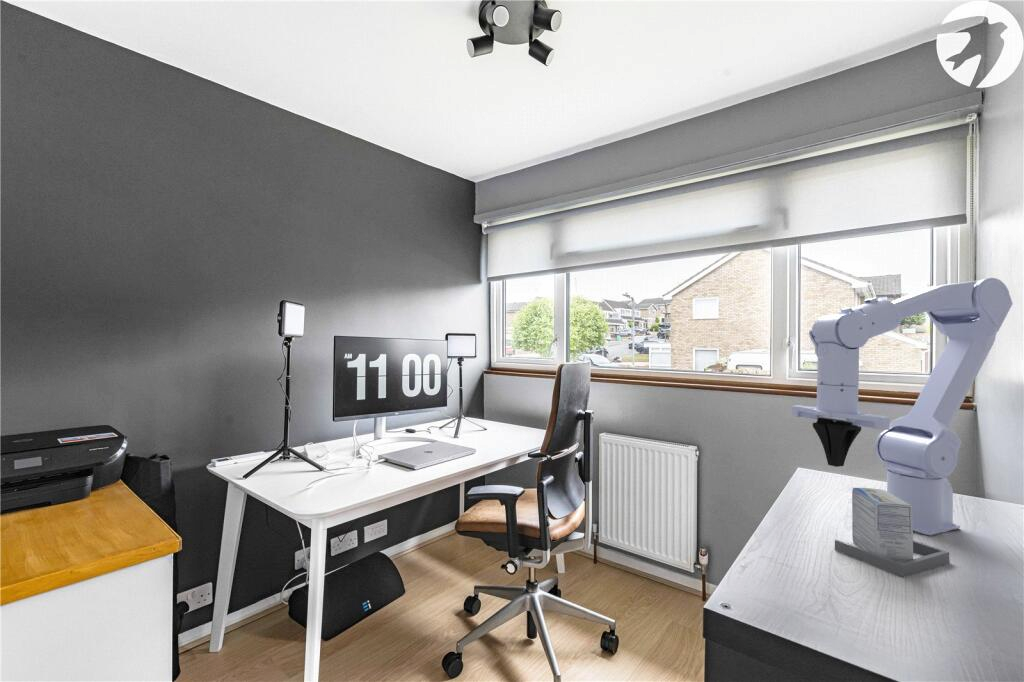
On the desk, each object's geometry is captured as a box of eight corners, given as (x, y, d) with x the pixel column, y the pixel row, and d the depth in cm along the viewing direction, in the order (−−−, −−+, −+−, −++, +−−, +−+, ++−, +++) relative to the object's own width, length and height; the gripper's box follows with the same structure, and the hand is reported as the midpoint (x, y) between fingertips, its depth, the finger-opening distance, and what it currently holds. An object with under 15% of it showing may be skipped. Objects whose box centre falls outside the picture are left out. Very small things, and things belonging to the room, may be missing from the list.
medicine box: (914, 569, 62) (914, 505, 62) (875, 564, 63) (876, 502, 63) (885, 545, 69) (885, 489, 70) (851, 541, 71) (851, 486, 71)
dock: (880, 538, 72) (880, 529, 72) (949, 562, 64) (949, 552, 64) (834, 549, 68) (834, 539, 68) (902, 577, 60) (902, 565, 60)
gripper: (781, 381, 82) (779, 456, 82) (870, 389, 68) (868, 479, 68) (807, 381, 85) (805, 454, 84) (898, 388, 71) (896, 475, 71)
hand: (835, 465), depth 76 cm, fingers closed
